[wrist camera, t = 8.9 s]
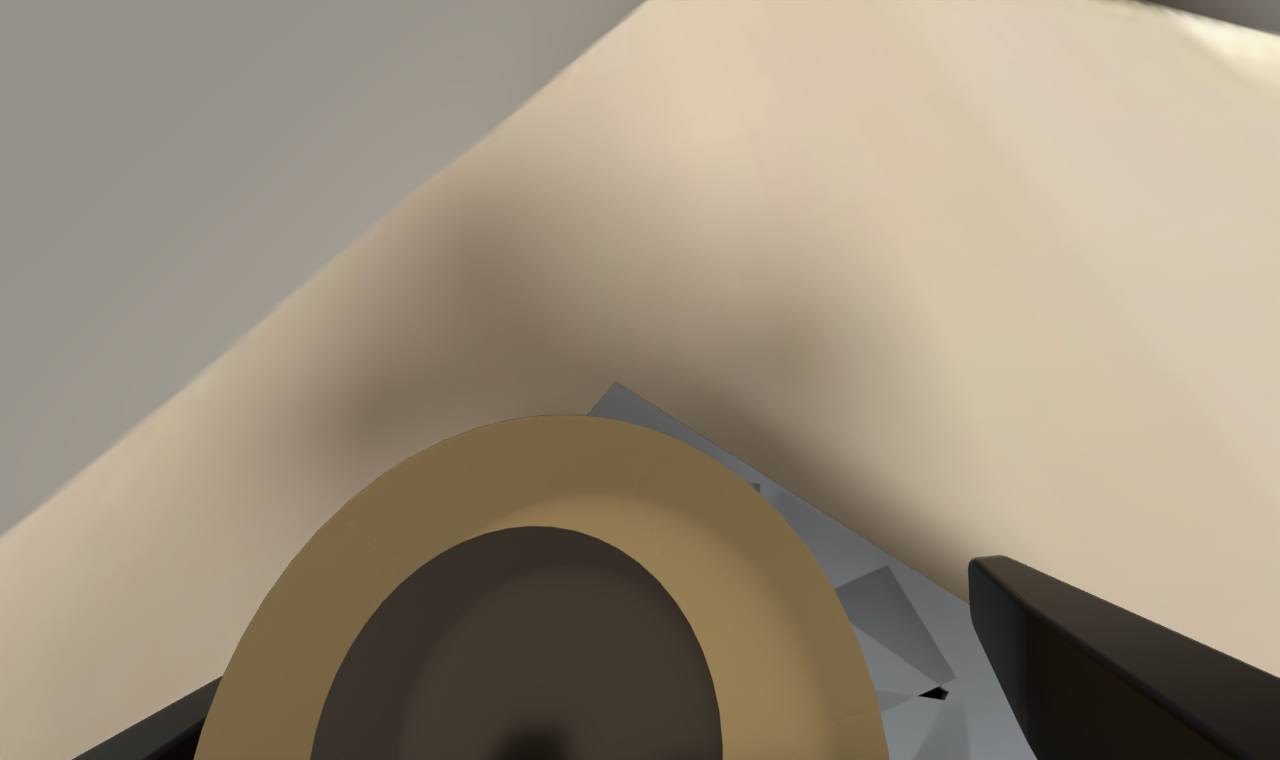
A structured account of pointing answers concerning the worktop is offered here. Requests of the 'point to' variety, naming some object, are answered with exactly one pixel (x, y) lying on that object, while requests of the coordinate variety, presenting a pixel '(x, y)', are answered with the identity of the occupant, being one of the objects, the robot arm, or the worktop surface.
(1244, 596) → the worktop surface
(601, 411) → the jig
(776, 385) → the worktop surface
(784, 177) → the worktop surface
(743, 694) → the bushing
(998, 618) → the robot arm
